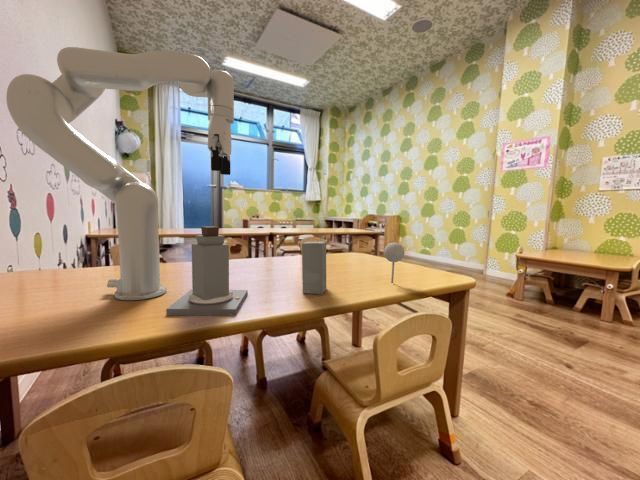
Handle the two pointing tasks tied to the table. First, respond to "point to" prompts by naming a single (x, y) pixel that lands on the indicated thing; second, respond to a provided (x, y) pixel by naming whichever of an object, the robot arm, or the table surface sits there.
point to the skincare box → (314, 267)
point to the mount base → (208, 304)
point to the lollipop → (393, 254)
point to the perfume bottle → (210, 265)
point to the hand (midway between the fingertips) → (221, 172)
